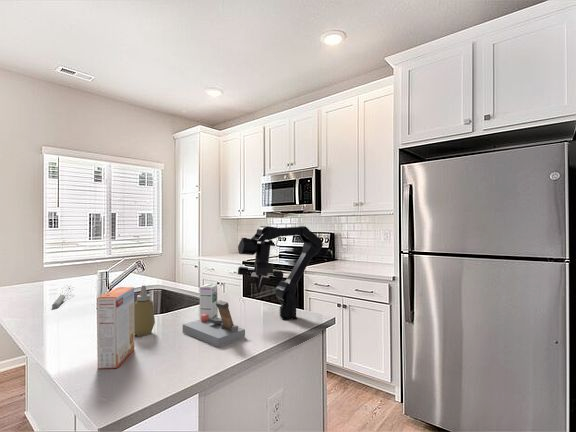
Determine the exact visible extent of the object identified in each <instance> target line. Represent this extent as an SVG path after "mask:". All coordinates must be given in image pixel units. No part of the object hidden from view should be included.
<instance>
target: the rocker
mask: <svg viewBox="0 0 576 432" xmlns="http://www.w3.org/2000/svg"><path fill="white" fill-rule="evenodd" d="M208 322H210V323H213V324H221V323H223V322H222V319H221V318H215V319H208Z"/></svg>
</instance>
